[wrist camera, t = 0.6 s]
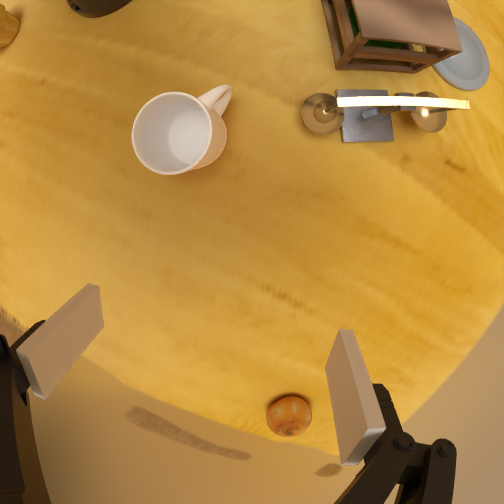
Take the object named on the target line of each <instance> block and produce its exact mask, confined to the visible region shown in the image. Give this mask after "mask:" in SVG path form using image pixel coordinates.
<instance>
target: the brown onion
mask: <svg viewBox="0 0 504 504" xmlns="http://www.w3.org/2000/svg"><path fill="white" fill-rule="evenodd" d="M311 419H312V411H311V408H310V406H309V405H308V404H307V403H306V402H305V401H304V400H302V399H301V398H298V397H293V396H289V397H285V398H282V399H280V400H278V401H276V402H275V403H273V404H272V405H271V406H270V407H269V409H268V411H267V414H266V420H267V425H268V426H269V428H270V429H271V431H273V432H274V433H275V434H277V435H279V436H282V437H294V436H298V435H300V434H302V433H303V432H304V431H305V430H306V429H307V428H308V426H309V425H310V423H311Z"/></svg>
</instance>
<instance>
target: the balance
mask: <svg viewBox="0 0 504 504" xmlns="http://www.w3.org/2000/svg"><path fill="white" fill-rule="evenodd" d="M335 93H336V98H335V97H333V96H331V95H329V94H325V93H317V94H314V95H312V96H310V97H309V98H307V99H306V101H305V102H304V104H303V106H302V109H301V116H302V120H303V122H304V124H305V125H306V126H307V128H308V129H310V130H311V131H313V132H314V133H317V134H322V135H325V134H330V133H333V132H335V131H337V130H338V129H339V128H340V129H341V138H342V142H364V141H394V139H393V130H392V121H391V113H392V112H395V111H411V115H412V118H413V120H414V122H415V123H416V125H417V126H418V127H419V128H420V129H422V130H423V131H426V132H430V133H434V132H438V131H440V130H441V129H443V127H444V126H445V124H446V120H447V113H446V111H449V110H456V109H462V110H470V106H469V101H463V100H453V99H441V98H439V97H438V96H436V95H435V94H433V93H431V92H421V93H418V94H416V95H415V96H414V94H412V93H396V94H394V95H395V97H388V92H387V90H336V91H335Z"/></svg>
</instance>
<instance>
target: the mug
mask: <svg viewBox="0 0 504 504" xmlns="http://www.w3.org/2000/svg"><path fill="white" fill-rule="evenodd" d="M227 90H228V91H227ZM226 91H227V93H226V94H225V95H224V96H223V97H222V98H221V99H220V100H218V99H219V98H220V97H221V96H222V95H223V94H224V93H225V92H226ZM231 95H232V87H231V86H230V85H220V86H218V87H215V88H213V89H211V90H210V91H208V92H206V93H204V94H203V95H201V96H199V97H197V98H195V97H194V96H192V95H190V94H187V93H183V92H167V93H163V94H160V95H158V96H156V97H154V98H152V99H151V100H149V101H148V102H147V103H146V104H145V105H144V106H143V107H142V108H141V110H140V111H139V113H138V114H137V116H136V118H135V121H134V124H133V128H132V144H133V148H134V151H135V153H136V155H137V157H138V159H139V160H140V161H141V163H142V164H143V165H144V166H146V167H147V168H148V169H150V170H151V171H153V172H156V173H159V174H163V175H175V174H180V173H183V172H187V171H191V170H195V169H199V168H202V167H205V166H208V165H209V164H211V163H213V162H214V161H215V160H216V159H218V157H219V156H220V155H221V154H222V152H223V150H224V148H225V146H226V142H227V129H226V125H225V123H224V121H223V119H222V117H221V116H222V114H223V113H224V111H225V109H226V107H227V105H228V103H229V101H230V99H231Z"/></svg>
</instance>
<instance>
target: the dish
mask: <svg viewBox="0 0 504 504" xmlns="http://www.w3.org/2000/svg"><path fill="white" fill-rule="evenodd" d="M453 19H454V22H455V25H456V29H457V32H458V35H459V39H460V42H461V46H462V50H463V52H461V53H459V54H456V55H454V56H452V57H449V58H447V59H445V60H443V61H440V62H438V63H436V64H434V65H431V66H432V67H433V69H434V70H435V71H436V72H437V73H438V75H439V76H440V77H441V78H442V79H443V80H445V81H446V82H447V83H449V84H450V85H452V86H453V87H455V88H458V89H460V90H465V91H470V90H476V89H479V88H481V87H482V86H483V85H484V84H485V83H486V81H487V79H488V76H489V60H488V56H487V53H486V50H485V48H484V46H483V44H482V42H481V41H480V39H479V38H478V36H477V35H476V34H475V33H474V31H473V30H472V29H471V28H470V27H469V26H467V25H466V24H465V23H464V22H462V21H461V20H459V19H457V18H455V17H453ZM422 46H423V45H422ZM423 50H424V52H425V53H426V49H425V46H423ZM442 50H444V49H441V51H442Z"/></svg>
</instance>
